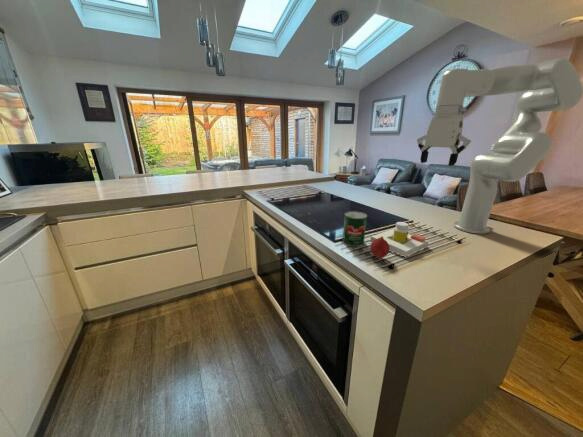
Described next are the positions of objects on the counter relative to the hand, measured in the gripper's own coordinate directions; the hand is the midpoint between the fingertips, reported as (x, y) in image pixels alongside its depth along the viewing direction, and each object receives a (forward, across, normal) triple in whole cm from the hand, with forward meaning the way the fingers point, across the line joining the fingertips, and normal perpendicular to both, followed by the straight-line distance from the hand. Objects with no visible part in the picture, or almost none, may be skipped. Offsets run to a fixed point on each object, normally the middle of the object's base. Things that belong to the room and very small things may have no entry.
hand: (436, 163), depth 85 cm
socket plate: (+28, 0, +16) cm, 33 cm away
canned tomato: (+28, +11, +28) cm, 41 cm away
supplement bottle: (+28, 0, +16) cm, 33 cm away
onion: (+28, -2, +30) cm, 42 cm away
